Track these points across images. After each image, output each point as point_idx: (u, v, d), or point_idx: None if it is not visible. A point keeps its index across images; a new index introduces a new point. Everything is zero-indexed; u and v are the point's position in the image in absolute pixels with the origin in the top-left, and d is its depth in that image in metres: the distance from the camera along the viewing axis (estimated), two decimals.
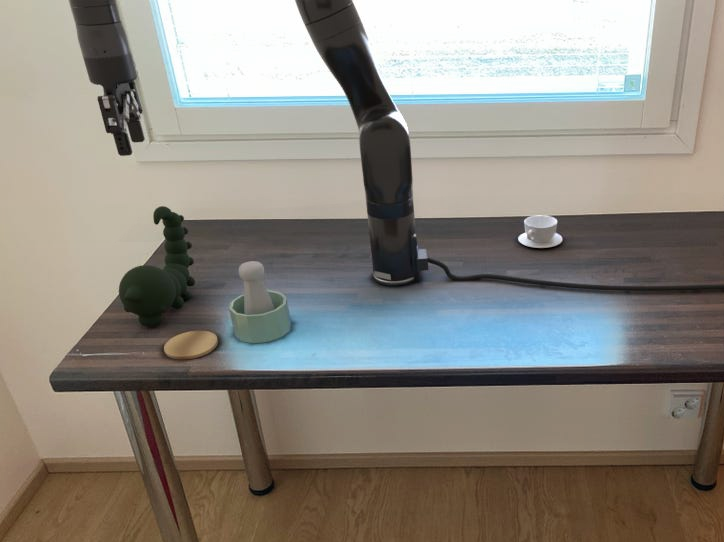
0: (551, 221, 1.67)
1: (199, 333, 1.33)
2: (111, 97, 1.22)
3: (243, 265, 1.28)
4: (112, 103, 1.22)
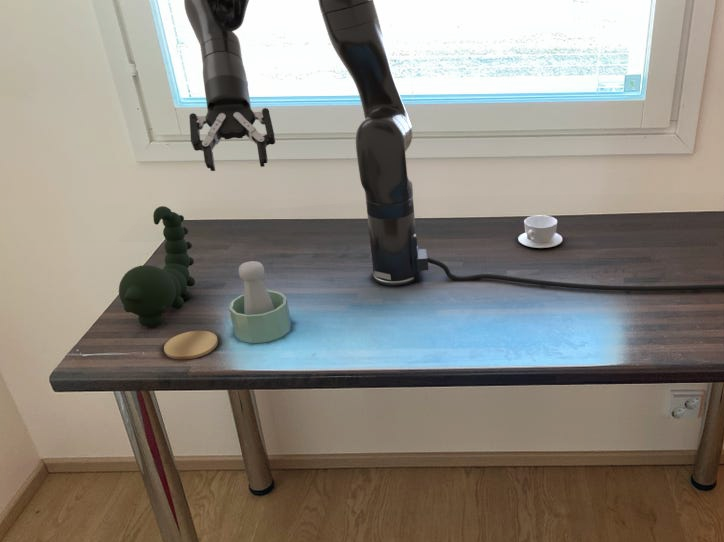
0: (551, 221, 1.67)
1: (199, 333, 1.33)
2: (190, 115, 1.31)
3: (243, 265, 1.28)
4: None
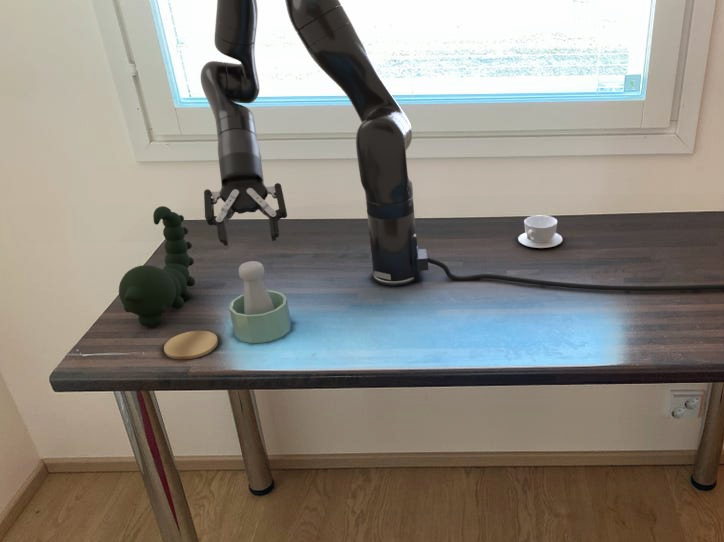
0: (551, 221, 1.67)
1: (199, 333, 1.33)
2: (204, 191, 1.34)
3: (243, 265, 1.28)
4: (204, 196, 1.34)
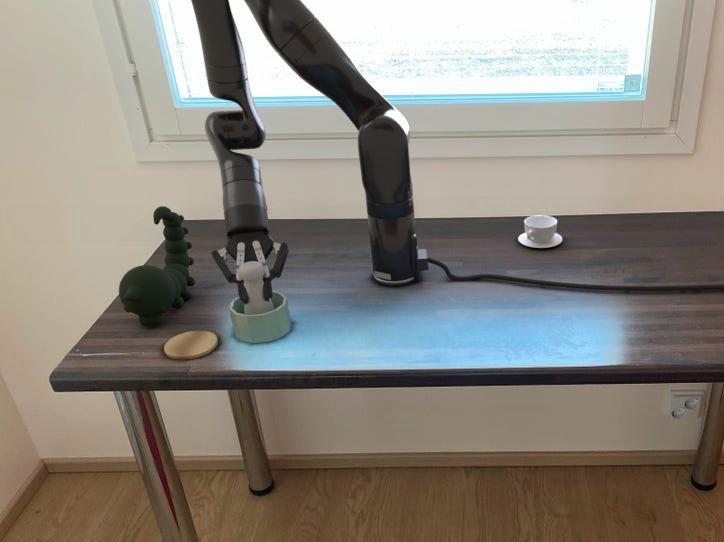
0: (551, 221, 1.67)
1: (199, 333, 1.33)
2: None
3: (243, 265, 1.28)
4: None
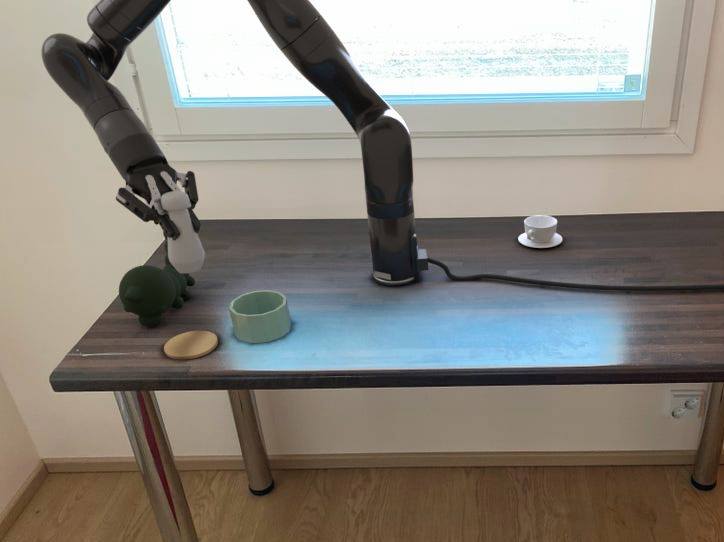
0: (551, 221, 1.67)
1: (199, 333, 1.33)
2: (118, 191, 1.15)
3: (167, 195, 1.17)
4: (123, 196, 1.15)
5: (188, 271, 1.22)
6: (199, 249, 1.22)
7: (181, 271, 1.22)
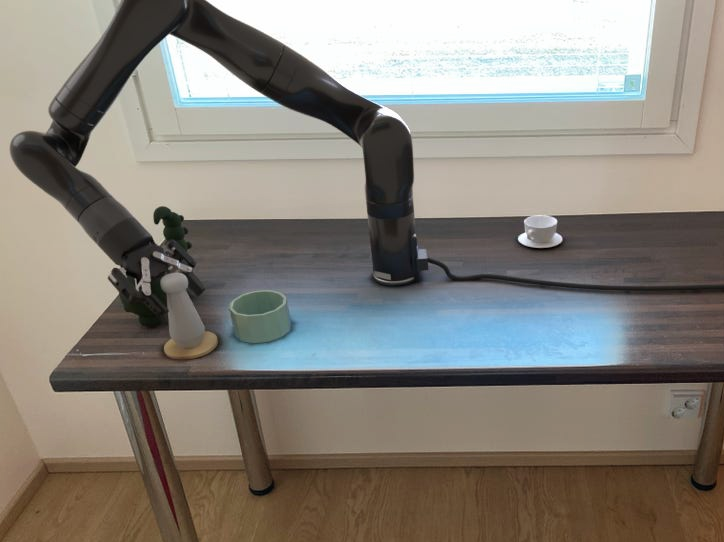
0: (551, 221, 1.67)
1: None
2: (112, 270, 1.19)
3: (168, 279, 1.23)
4: (115, 275, 1.19)
5: (192, 345, 1.29)
6: (201, 324, 1.29)
7: (185, 347, 1.29)
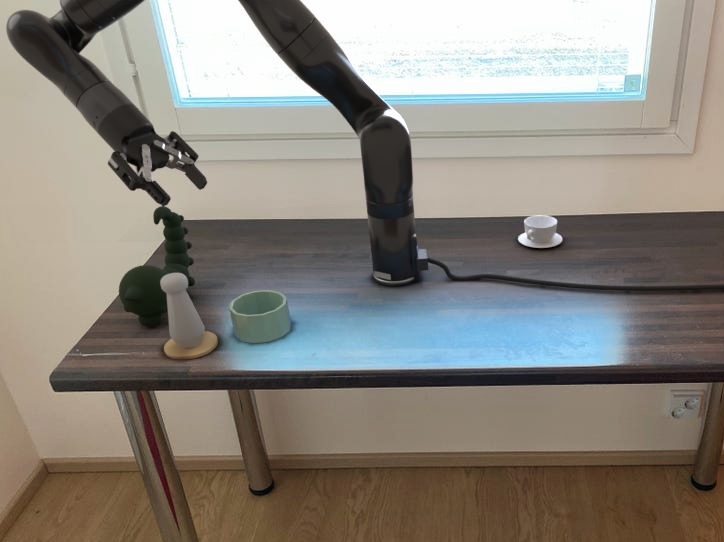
0: (551, 221, 1.67)
1: None
2: (112, 154, 1.16)
3: (168, 279, 1.23)
4: (115, 159, 1.16)
5: (192, 345, 1.29)
6: (201, 324, 1.29)
7: (185, 347, 1.29)
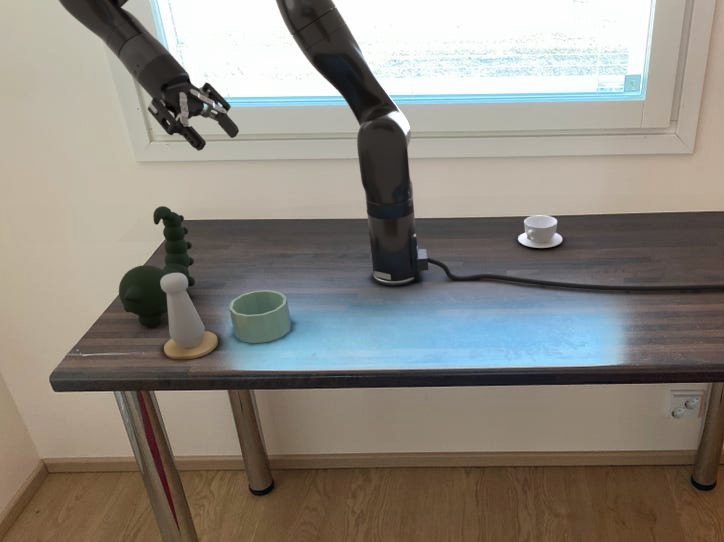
0: (551, 221, 1.67)
1: None
2: (152, 100, 1.24)
3: (168, 279, 1.23)
4: (155, 104, 1.24)
5: (192, 345, 1.29)
6: (201, 324, 1.29)
7: (185, 347, 1.29)
